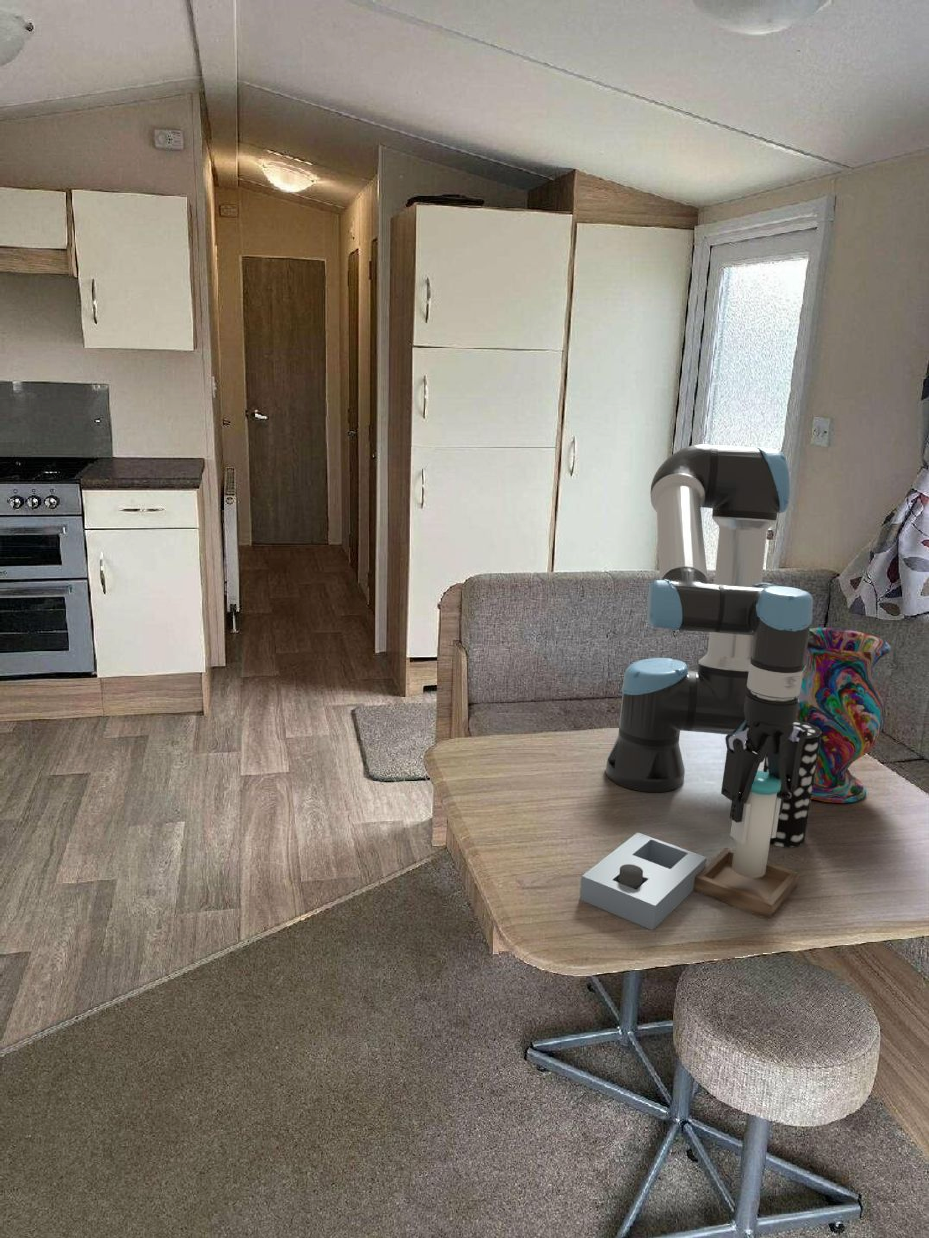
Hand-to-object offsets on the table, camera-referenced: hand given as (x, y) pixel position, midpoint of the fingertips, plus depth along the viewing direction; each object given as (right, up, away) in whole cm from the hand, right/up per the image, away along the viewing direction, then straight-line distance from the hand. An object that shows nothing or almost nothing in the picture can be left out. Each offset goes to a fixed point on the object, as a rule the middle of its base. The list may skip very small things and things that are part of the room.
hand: (752, 836), depth 144 cm
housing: (-17, -8, +1) cm, 19 cm away
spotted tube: (+11, -5, +20) cm, 23 cm away
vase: (+26, 0, +41) cm, 48 cm away
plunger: (-20, -8, -3) cm, 22 cm away
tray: (0, -9, +3) cm, 9 cm away
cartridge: (0, -5, +1) cm, 6 cm away
